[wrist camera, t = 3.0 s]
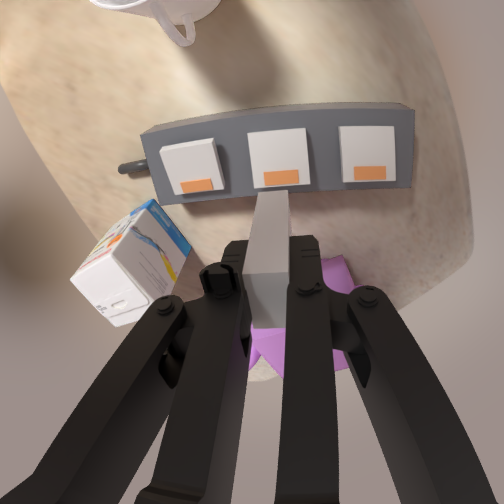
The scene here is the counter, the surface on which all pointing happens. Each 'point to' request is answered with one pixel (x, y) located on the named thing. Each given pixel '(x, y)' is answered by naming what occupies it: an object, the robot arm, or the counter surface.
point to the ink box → (133, 265)
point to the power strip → (278, 118)
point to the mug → (166, 14)
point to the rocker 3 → (367, 153)
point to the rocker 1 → (193, 166)
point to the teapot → (273, 339)
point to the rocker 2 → (279, 157)
